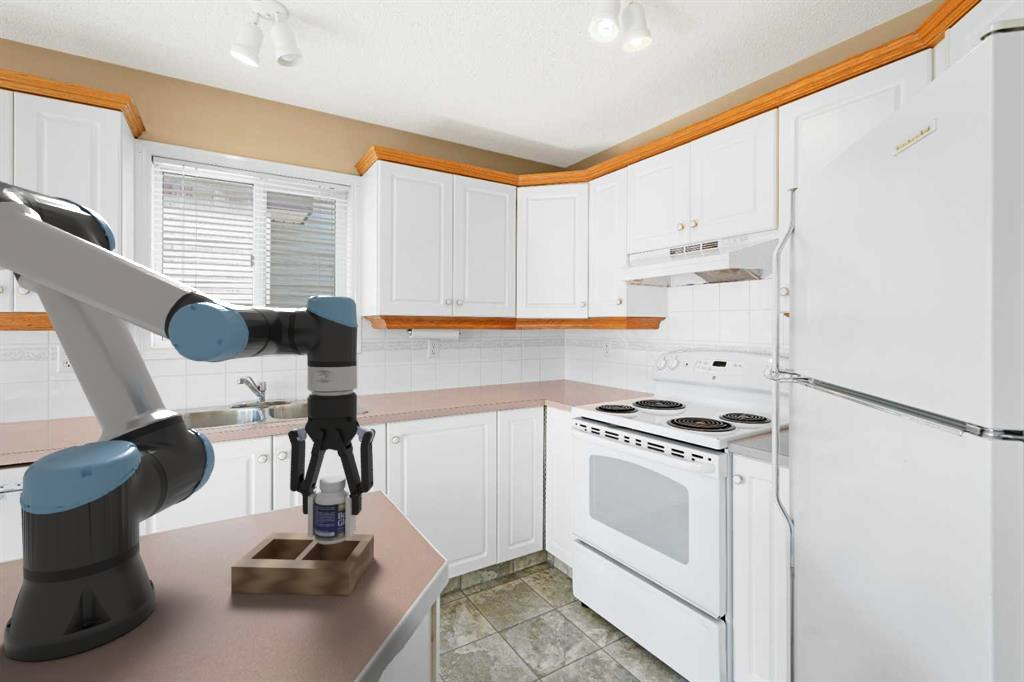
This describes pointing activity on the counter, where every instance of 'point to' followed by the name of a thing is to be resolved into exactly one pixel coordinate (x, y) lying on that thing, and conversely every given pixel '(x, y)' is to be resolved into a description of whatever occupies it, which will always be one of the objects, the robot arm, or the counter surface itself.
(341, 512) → the pill bottle
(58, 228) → the robot arm
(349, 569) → the socket board
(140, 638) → the counter surface
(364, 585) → the counter surface
